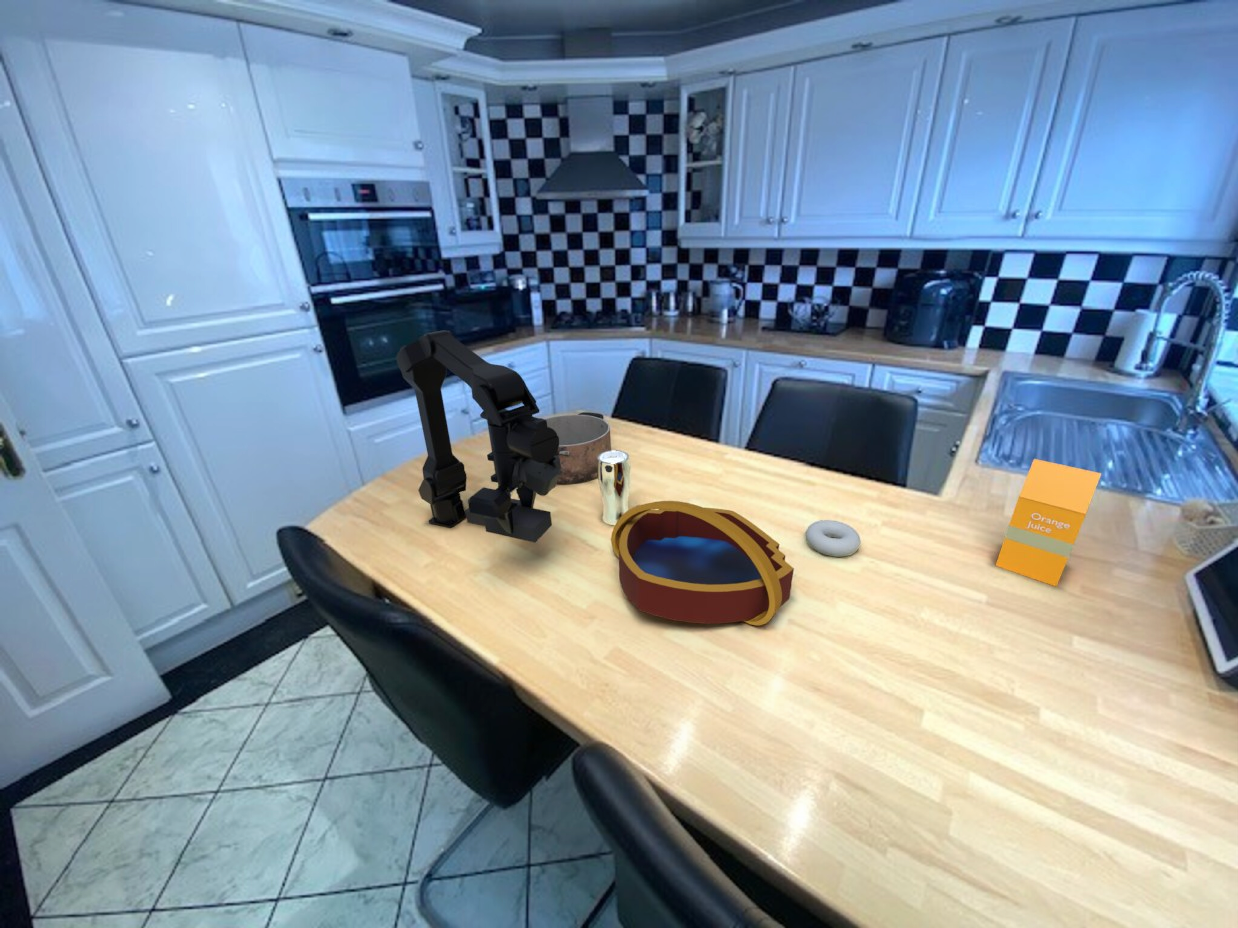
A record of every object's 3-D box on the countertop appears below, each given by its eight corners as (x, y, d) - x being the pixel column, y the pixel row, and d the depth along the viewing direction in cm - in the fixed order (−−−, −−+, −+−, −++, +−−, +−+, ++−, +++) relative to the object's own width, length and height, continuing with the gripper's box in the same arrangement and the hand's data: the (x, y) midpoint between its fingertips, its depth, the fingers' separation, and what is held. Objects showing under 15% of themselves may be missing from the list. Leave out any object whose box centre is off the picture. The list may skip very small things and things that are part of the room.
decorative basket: (815, 597, 89) (831, 520, 84) (719, 675, 69) (733, 580, 64) (668, 530, 111) (674, 465, 107) (564, 574, 92) (566, 497, 87)
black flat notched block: (485, 531, 93) (483, 517, 91) (504, 515, 97) (502, 501, 96) (535, 542, 89) (533, 528, 87) (552, 525, 94) (550, 511, 92)
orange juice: (1005, 547, 96) (1037, 451, 88) (1064, 566, 90) (1105, 465, 82) (994, 565, 91) (1028, 466, 83) (1056, 587, 85) (1099, 482, 77)
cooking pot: (579, 498, 120) (575, 457, 116) (503, 483, 129) (497, 444, 125) (630, 450, 144) (629, 415, 140) (563, 440, 153) (560, 406, 149)
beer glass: (629, 527, 108) (626, 464, 101) (597, 525, 109) (592, 462, 103) (634, 511, 114) (632, 450, 107) (604, 509, 115) (600, 449, 109)
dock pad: (467, 522, 113) (465, 510, 111) (488, 505, 119) (486, 494, 118) (516, 532, 108) (514, 520, 107) (535, 513, 115) (534, 502, 113)
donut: (858, 565, 93) (860, 536, 101) (861, 550, 92) (862, 521, 100) (801, 553, 97) (807, 526, 105) (803, 538, 96) (809, 512, 104)
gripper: (518, 477, 75) (530, 562, 82) (575, 431, 91) (581, 506, 97) (458, 466, 79) (474, 548, 86) (522, 424, 95) (531, 497, 101)
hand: (519, 524), depth 93 cm, fingers closed on black flat notched block, 6 cm apart
